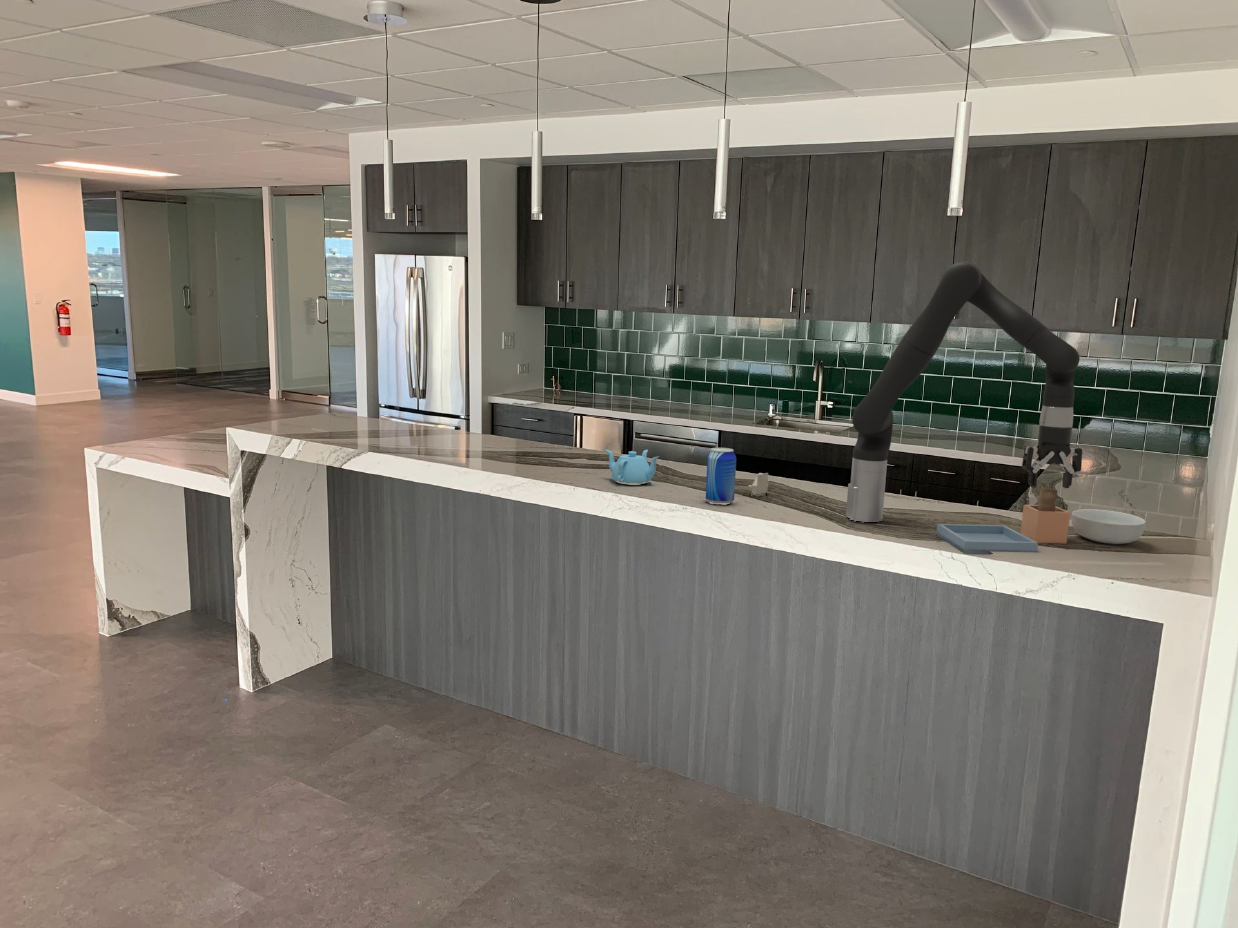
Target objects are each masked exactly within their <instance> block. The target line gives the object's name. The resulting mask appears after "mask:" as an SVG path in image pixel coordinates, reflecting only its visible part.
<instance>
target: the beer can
mask: <svg viewBox="0 0 1238 928" xmlns="http://www.w3.org/2000/svg"><path fill="white" fill-rule="evenodd" d="M734 451H735V450H734V449H733V448H728V447H712V448H711V449H710V452H709V453H708V454H707V458H706V460H707V462H706V481H705V500H706V501H707V502H708V501H709V502H713V503H731V502H732V503H733V502H734V500H735V492H736V491H735V490H736V489H735V488H736V471H737V470H736V469H737V457H736V454H735V453H734ZM732 503H731V504H732Z"/></svg>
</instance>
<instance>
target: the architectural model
mask: <svg viewBox="0 0 1238 928" xmlns="http://www.w3.org/2000/svg"><path fill="white" fill-rule="evenodd" d="M769 485H770V484H769V472H765V473H762V472H759V473H757V476H756V477H755V479H754V480H753V481H752V483H751V484H749V485H748V488H749V487H750V488H751V494H752V493H753V494H761V493H764V492H767V493H768V486H769Z"/></svg>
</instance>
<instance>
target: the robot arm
mask: <svg viewBox="0 0 1238 928" xmlns="http://www.w3.org/2000/svg"><path fill="white" fill-rule="evenodd" d="M941 276H942V277H941V278H940V281H939V283H938V285H937V287H936V288H935V291H934V293H933V295H932V297H931V298H930V300H929V302H928V303H927V305H926V307H925V308H924V309H923V310H922V312H921V313H920V314H919V316H917V318H916V319H915V320H914V322H913V323H912V324H911V326H909V328H908V330H907V331H906V332H905V334H904V335H903V336H902V338H901V340H900V341H899V343H898V344H897V346H896V347H895V349H894V351H893V353H892V355H890V357H889V359H888V361H887V363H886V364H885V366H884V368H883V370H882V371H881V373H880V375H879V377H878V378H877V379H876V382H875V383H874V384H873V386H872V387H871V389H870V390H869V391H868V393H867V394H865V396H864V397H863V398H862V400H861V401H860V402H859V403H858V404H857V406H856V408H854V411H853V413H852V418H851V419H852V420H851V421H852V425H853V428H854V429H855V430H856V432H858V433H857V434H858V435H857V440H856V443H855V445H854V447H853V450H852V462H851V473H850V475H851V476H850V483H848V485H847V498H846V508H845V509H846V511H845V517H846V516H847V517H848V518H850V519H849V521H851V520H854V521H853V522H856V521H864V522H878V523H880V522H879V521H881V522H883V516H884V505H885V491H886V479H887V478H886V477H887V469H888V468H887V466H888V456H889V451H890V448H891V445H892V437H893V425H894V413H893V408H894V406H895V405H896V403H897V402H898V399H900V397H901V396H902V394H904V392H905V391H906V390H907V389H908V388H909V387H910V386H911V385H912V384H913V383H914V382H915V381H916V380H917V379H918V378H919V377H920V375H922V373H923V372H924V370H925V369H926V368H927V367H928V365H930V364H929V363H930V362H931V361H932V359H933V358H934V357H935V354H936V353H937V352H938V350H939V348H940V346H941V344H942V343H943V340H944V338H945V336H946V334H947V332H948V329H949V328H950V325H951V323H952V322H953V320H954V319H955V317H956V315H957V314H958V313H959V312H960V310H961V309H962V308H963V307H964V305H966V303H970V304H971V305H973V306H975V307H976V308H978V309H979V310H981V311H982V312H983V313H984V314H985V315H986V316H988V317H989V318H990V319H991V320H992V321H993V322H994V323H995V324H996V325H997V326H998V327H999V328H1000V329H1001V330H1002V331H1003V332H1005V333H1006V334H1007V335H1008V336H1009V337H1011V339H1013V340H1014V341H1015V342H1017V343H1018V344H1019V345H1021V346H1022V347H1023V348H1024V349H1026V350H1028V351H1029V352H1031V353H1033V354H1034V355H1035V356H1036V357H1038V358H1039V359H1040V361H1042V362H1043V363H1044V364H1045V385H1044V391H1043V396H1042V397H1043V399H1042V408H1041V411H1040V417H1039V426H1038V436H1037V446H1036V447H1035V446H1029V445H1026V446H1024V450H1023V456H1022V464H1021V469H1022V470H1025V471H1027V472H1028V479H1027V483H1028V485H1029V487H1030V488H1035V489H1036V488H1037V484H1038V474H1039V473H1038V471H1040V469H1041V468H1043V467H1044V466H1045V465H1053V464H1054V465H1058V466H1059V465H1060V466H1061V467H1062V470H1064V472H1063V476H1062V485H1061V486H1062V488H1064V489H1070V487H1071V486H1072V482H1073V474H1074V473H1077V472H1081V471H1082V461H1083V448H1081V447H1078V446H1074V447H1070V445H1071V442H1072V433H1073V424H1074V405H1075V404H1074V401H1075V396H1076V395H1075V392H1076V391H1075V385H1074V383H1075V382H1074V381H1075V373H1076V369H1077V368H1078V366H1079V364H1080V354H1079V352H1078V350H1077V349H1076V348H1075V347H1074V346H1072V345H1071V344H1070V343H1068V342H1067V341H1066V340H1064V339H1062V338H1061V337H1059V336H1058V335H1056V334H1055V333H1053V332H1052V331H1051V329H1049V328H1048V327H1047V326H1046V325H1045V324H1044V323H1042V322H1041V321H1039V320H1038V319H1037V318H1035V317H1034V316H1033V315H1032V314H1030V313H1029V312H1028V311H1027V310H1025V309H1024V308H1022V307H1021V306H1020V305H1018V304H1017V303H1015V302H1014V301H1012V300H1011V299H1009V298H1008V297H1007V296H1005V294H1003V293H1002V292H1001V291H1000V290H999V289H997V287H995V286H994V285H993V284H992V283H991V282H990V281H989V280H988V279H987V277H986V276H985V275H984V274H983V273H982V272H981V270H980V269H979V267H978V266H977V265H976V264H974V263H973V262H970V261H966V260H965V261H964V260H962V261H958V262H954V263H952V264H951V265H950V266H948V267H947V268H946V269H945V270H944V273H943V274H942V275H941ZM1036 454H1037V457H1035V459H1034V460H1033V457H1034V456H1035V455H1036ZM1069 455H1071V462H1070V460H1069V459H1068V457H1069ZM847 517H846V518H847ZM848 518H847V519H848ZM864 522H863V523H864Z"/></svg>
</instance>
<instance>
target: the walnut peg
mask: <svg viewBox="0 0 1238 928" xmlns="http://www.w3.org/2000/svg"><path fill="white" fill-rule="evenodd" d="M1057 497H1058V489H1056V488H1051V487H1041V488H1040V489H1039V497H1038V504H1037V505H1038V510H1039V511H1055V507H1057V506H1056V505H1057Z"/></svg>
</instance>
